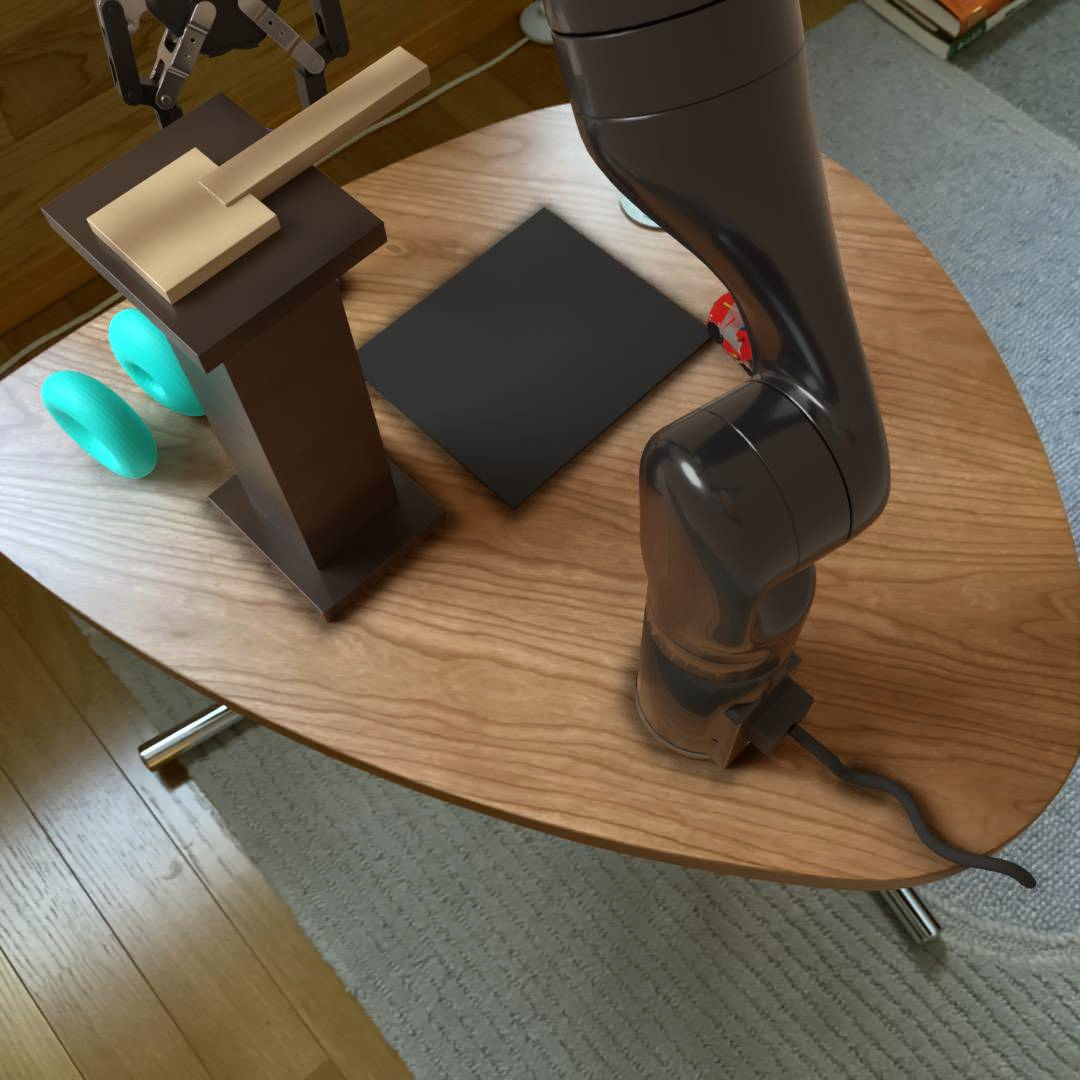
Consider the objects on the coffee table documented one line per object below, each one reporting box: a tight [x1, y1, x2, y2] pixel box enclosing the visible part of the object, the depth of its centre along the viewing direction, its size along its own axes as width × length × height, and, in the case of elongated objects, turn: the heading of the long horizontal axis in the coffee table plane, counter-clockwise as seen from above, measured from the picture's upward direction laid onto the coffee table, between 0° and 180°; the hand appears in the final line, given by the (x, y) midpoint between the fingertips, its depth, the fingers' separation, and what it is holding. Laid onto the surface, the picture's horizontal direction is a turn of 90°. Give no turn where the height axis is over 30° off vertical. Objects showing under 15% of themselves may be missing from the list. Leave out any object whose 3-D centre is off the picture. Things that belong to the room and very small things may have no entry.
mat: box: [356, 206, 713, 511], centre depth 95 cm, size 20×23×1 cm
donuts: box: [40, 307, 206, 480], centre depth 89 cm, size 10×10×10 cm
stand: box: [40, 91, 449, 623], centre depth 75 cm, size 14×12×32 cm
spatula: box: [87, 45, 431, 305], centre depth 62 cm, size 7×20×1 cm, turn 135°
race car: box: [706, 291, 753, 378], centre depth 92 cm, size 13×5×4 cm, turn 33°
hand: (253, 144), depth 75 cm, fingers open, 8 cm apart
